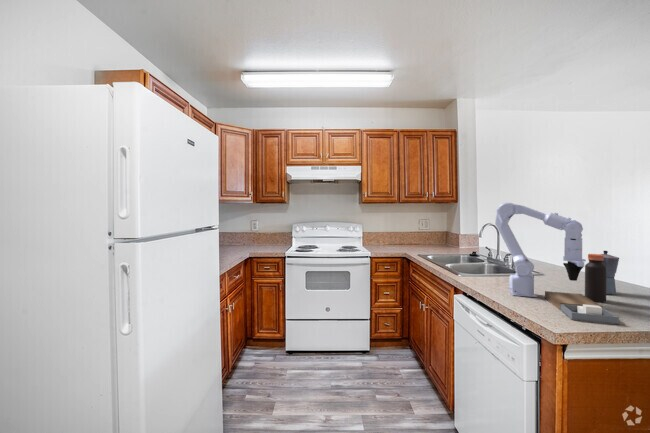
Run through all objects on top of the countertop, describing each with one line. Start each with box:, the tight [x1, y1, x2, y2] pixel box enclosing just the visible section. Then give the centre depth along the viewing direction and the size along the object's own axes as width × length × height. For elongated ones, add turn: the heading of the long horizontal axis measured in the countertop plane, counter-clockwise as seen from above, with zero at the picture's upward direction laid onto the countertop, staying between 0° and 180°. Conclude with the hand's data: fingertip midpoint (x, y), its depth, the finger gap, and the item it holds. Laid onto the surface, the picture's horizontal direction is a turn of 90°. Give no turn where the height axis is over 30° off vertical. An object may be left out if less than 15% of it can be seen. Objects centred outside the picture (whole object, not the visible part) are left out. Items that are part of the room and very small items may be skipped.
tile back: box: [577, 306, 583, 313], centre depth 105 cm, size 4×4×2 cm
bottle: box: [584, 253, 607, 303], centre depth 123 cm, size 7×7×20 cm
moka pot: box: [600, 250, 620, 296], centre depth 133 cm, size 10×15×20 cm, turn 107°
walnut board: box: [544, 290, 604, 311], centre depth 117 cm, size 13×17×3 cm
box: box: [560, 304, 620, 326], centre depth 104 cm, size 13×10×3 cm
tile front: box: [583, 304, 602, 315], centre depth 102 cm, size 4×4×2 cm
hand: (572, 280), depth 121 cm, fingers closed
